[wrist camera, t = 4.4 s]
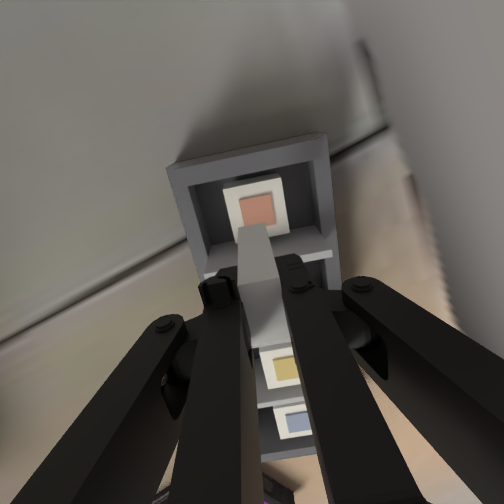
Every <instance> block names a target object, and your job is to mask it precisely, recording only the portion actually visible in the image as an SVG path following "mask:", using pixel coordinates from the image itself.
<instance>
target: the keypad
mask: <svg viewBox="0 0 504 504" xmlns="http://www.w3.org/2000/svg"><path fill="white" fill-rule="evenodd" d="M166 171H167V174H168V177H169V181H170V184H171V187H172V190H173V194H174V197H175V200H176V203H177V207H178V210H179V213H180V216H181V220H182V223H183V226H184V229H185V233H186V236H187V239H188V243H189V246H190V249H191V252H192V256H193V259H194V262H195V265H196V269H197V272H198V275H199V278H200V282H202V281H204V280H205V279H207V278H209V277H212V276H215V274H216V273H217V272H218V271H219V270H220V269H222V268H227V267H232V266H237V265H238V243H235V239H234V235H233V231H232V227H231V223H230V219H229V214H228V210H227V206H226V202H225V198H224V194H223V187H224V184H225V183H229V182H234V181H239V180H243V179H248V178H253V177H258V176H262V175H267V174H272V173H277V172H278V174H279V175H280V177H281V181H282V187H283V193H284V199H285V205H286V212H287V218H288V224H289V230H290V233H287V234H282V235H277V236H272V237H269V240H270V244H271V247H272V251H273V255H274V257H277V256H282V255H287V254H292V253H295V254H297V255H299V256H300V257H301V258H302V261H303V263H304V265H305V267H306V269H307V271H308V273H309V275H310V277H311V280H314V281H315V282H316V283H317V284H318V285H319V287H320V288H322V289H327V290H341V287H342V282H341V272H340V262H339V251H338V241H337V230H336V220H335V210H334V199H333V189H332V179H331V168H330V158H329V147H328V137H327V133H322V132H315V133H311V134H306V135H301V136H297V137H292V138H288V139H283V140H278V141H274V142H269V143H264V144H260V145H255V146H250V147H246V148H241V149H236V150H232V151H227V152H223V153H218V154H213V155H209V156H204V157H199V158H195V159H190V160H185V161H181V162H176V163H173V164H171V165H170V166H168V167H166ZM286 342H291V339H289V340H284V341H279V342H274V343H268V344H263V345H258V346H253V345H252V341H251V346H252V350H253V354H254V363H255V378H256V392H257V407H258V421H259V436H260V451H261V463H262V462H268V461H275V460H281V459H288V458H294V457H300V456H307V455H313V454H317V451H316V447H315V443H314V439H313V434H312V435H306V436H299V437H293V438H287V439H280V435H279V431H278V427H277V423H276V419H275V415H274V411H273V406H277V405H283V404H289V403H295V402H301V401H305V400H304V396H303V392H302V388H301V384H298V385H292V386H286V387H280V388H274V389H268V386H267V382H266V378H265V374H264V370H263V366H262V362H261V357H260V353H259V347H264V346H269V345H275V344H281V343H286Z"/></svg>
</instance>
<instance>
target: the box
mask: <svg viewBox="0 0 504 504" xmlns="http://www.w3.org/2000/svg"><path fill="white" fill-rule="evenodd" d="M262 480H263V494H264V504H295V502H294V494H293V492H292V491H291V490H289V489H288V488H286V487H284V486H283V485H281V484H280V483H278V482H277V481H275V480H274V479H272V478H271V477H269V476H268V475H266V474H265V473H263V472H262ZM169 489H170V486H168V487H167V488H165V489H164V490H162V491H161V492H159V493H158V494H156V495H155V497H154V500H153V502H152V504H167V500H168V495H169Z"/></svg>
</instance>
